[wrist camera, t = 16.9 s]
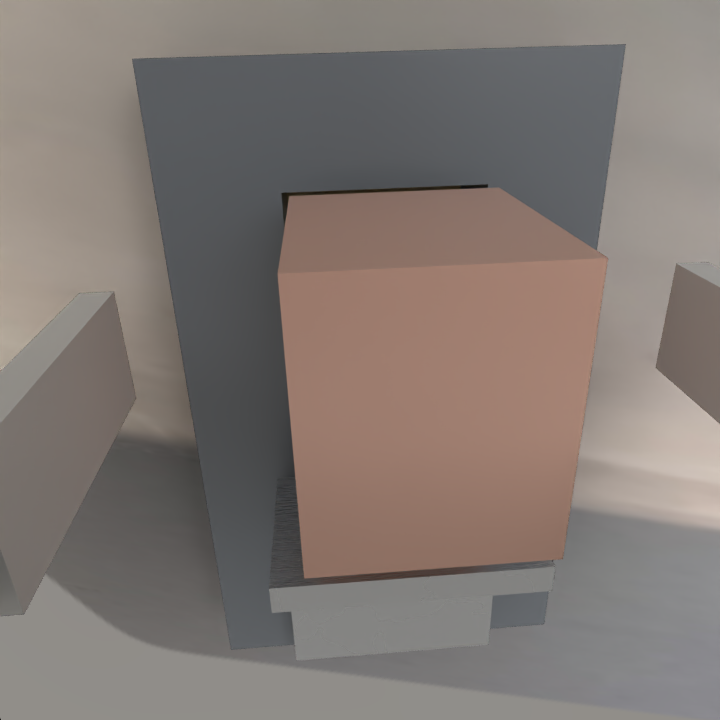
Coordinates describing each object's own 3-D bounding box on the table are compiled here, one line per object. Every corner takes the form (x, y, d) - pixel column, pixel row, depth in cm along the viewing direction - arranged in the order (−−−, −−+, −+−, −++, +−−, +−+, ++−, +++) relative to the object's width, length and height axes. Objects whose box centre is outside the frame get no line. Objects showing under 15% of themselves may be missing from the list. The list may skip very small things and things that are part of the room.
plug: (293, 165, 19) (277, 273, 9) (454, 158, 19) (608, 257, 9) (306, 343, 22) (303, 578, 12) (448, 335, 22) (562, 559, 12)
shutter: (278, 462, 20) (268, 588, 15) (497, 448, 20) (555, 566, 15) (296, 641, 23) (293, 789, 18) (483, 626, 23) (526, 767, 19)
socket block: (163, 59, 18) (132, 58, 15) (571, 47, 18) (625, 44, 15) (240, 580, 26) (231, 649, 23) (516, 559, 27) (543, 624, 24)
